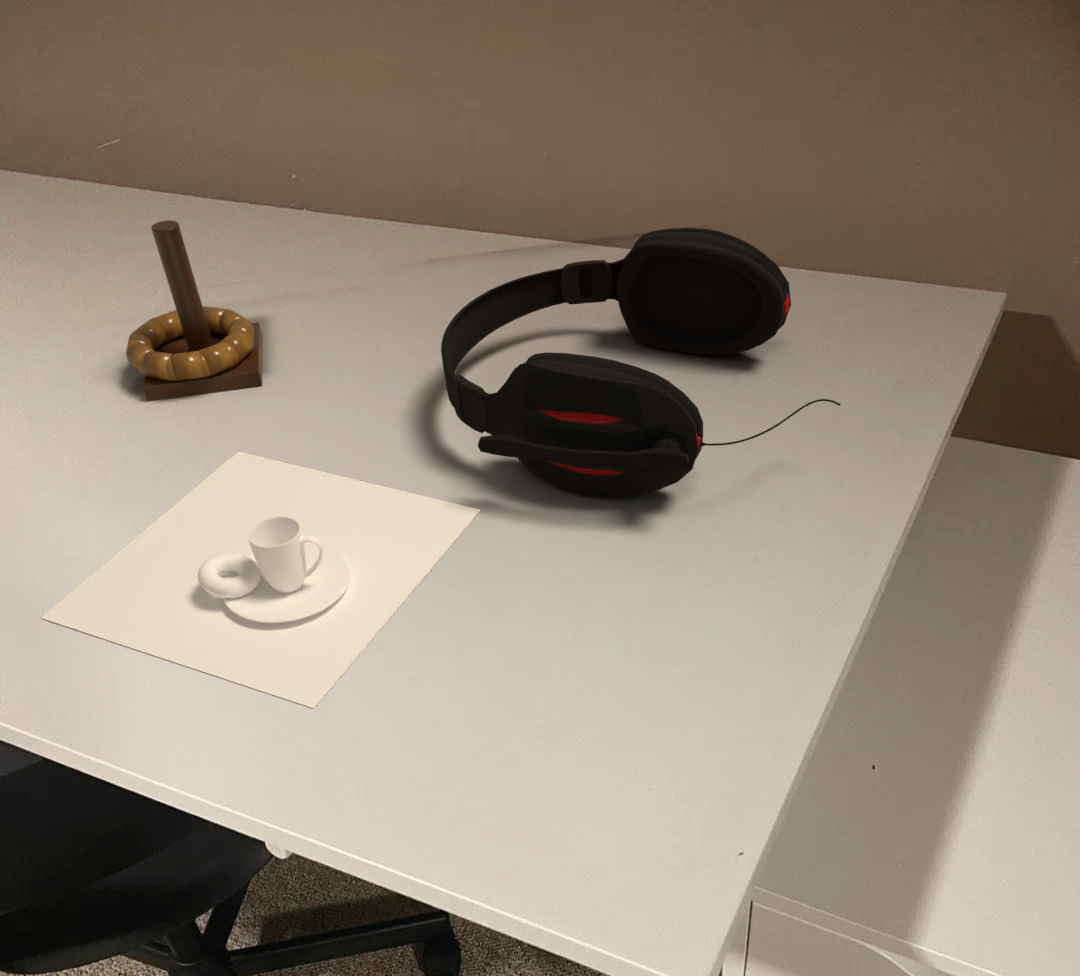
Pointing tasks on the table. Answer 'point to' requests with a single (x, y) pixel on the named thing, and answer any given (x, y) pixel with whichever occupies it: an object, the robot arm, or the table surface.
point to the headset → (610, 386)
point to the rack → (195, 326)
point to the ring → (193, 362)
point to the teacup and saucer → (267, 575)
